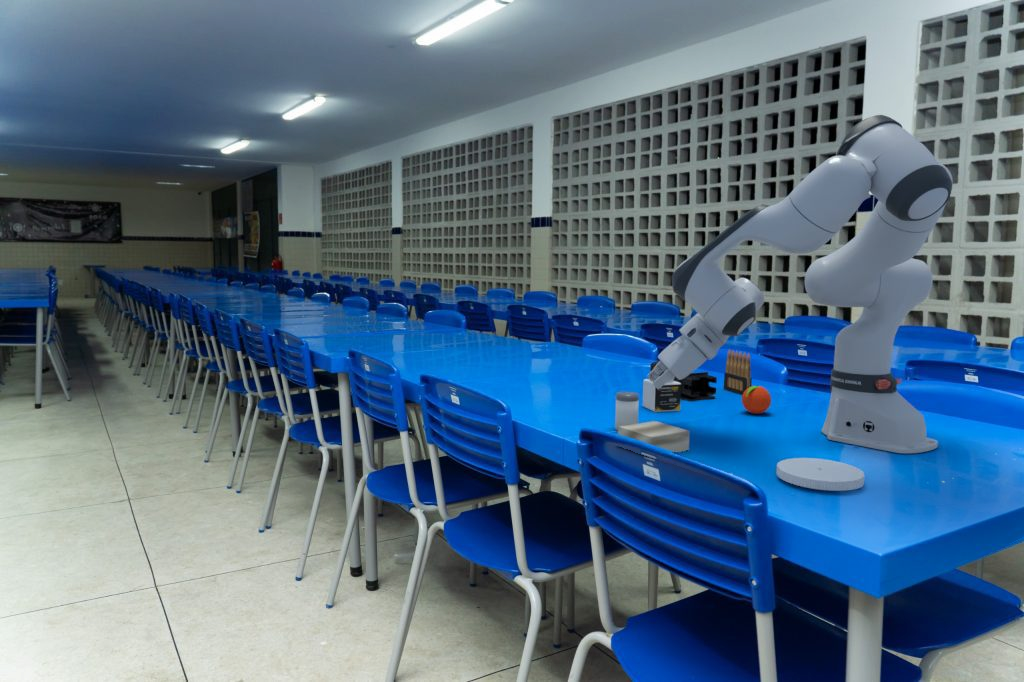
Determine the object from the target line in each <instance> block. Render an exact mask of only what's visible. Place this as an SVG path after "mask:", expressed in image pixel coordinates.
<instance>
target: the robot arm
mask: <svg viewBox="0 0 1024 682" xmlns="http://www.w3.org/2000/svg"><path fill="white" fill-rule="evenodd" d="M952 175H953V174H952V173H951V171H950V170H949V168H948V167H946V166H945V165H944V164H943V163H941V162H939V161H937V159H936V157H935V156H934V155H933V154H932V152H931V151H930V150H929V149H928V148H927V147H926V146H925V144H923V143H922V142H921V141H919V140H918V139H917V138H916V137H915V136H914V135H912V134H911V133H910V132H909V131H907V130H906V129H905V128H903V126H902V124H901V123H900V122H898V121H897V120H895V119H893V118H891V117H890V116H886V115H884V114H878V115H877V114H876V115H873V116H869V117H866V118H864V119H862V120H860V121H859V122H857V123H856V124H855V125H854V126H853V127H852V128H851V129H850V130H849V131H848V133H847V134H846V135H845V137H844V139H842V141H841V145H840V146H839V148H838V149H837V151H836V155H833V156H831V157H828V158H827V159H826V160H824V161H823V162H822V163H821V164H819V165H818V166H817V167H815V168H814V169H813V170H812V171H811V172H809V174H807V175H806V176H805V177H804V178H803V179H802V180H801V181H800V182H799V183H798V184H797V185H796V186H795V188H793V189H792V191H791V192H790V193H789V194H788V195H787V196H786V197H785V198H784V199H782V200H781V201H778V202H777V203H775V204H772V205H768V204H764V203H763V204H760V205H758V206H756V207H755V206H754V207H753V208H752V209H750V210H749V211H747V212H745V213H744V214H742V216H740V217H739V218H738V219H736V220H735V221H734V222H733V223H731V224H730V225H729V226H728V227H727V228H725V229H724V230H723V231H722V232H721V233H719V234H718V235H717V236H716V237H715V238H713V239H712V240H711V241H710V242H709V243H707V244H706V245H705V246H704V247H702V248H701V249H700V250H699V251H697V252H696V253H695V254H694V255H691V256H690V257H688V258H687V259H685V260H684V261H683V262H681V263H680V264H679V265H678V266H677V267H676V268H675V270H674V272H672V275H671V284H672V290H673V293H674V294H675V295H677V296H678V297H679V298H681V299H682V301H684V302H686V303H688V305H689V307H691V308H692V309H693V310H695V312H696V314H694V316H693V317H691V318H690V319H689V320H688V321H687V322H686V323H685V324H684V325H683V326H682V327H680V328H679V330H678V331H679V332H680V334H681V335H680V336H678V337H677V338H676V339H674V340H673V341H672V342H671V343H670V344H668V346H666V347H665V348H664V349H663V350H662V351H661V352H660V353H659V354H658V356H657V358H658V359H659V361H660V362H659V363H657V365H656V366H655V367H654V369H653V370H652V371H651V372H650V371H649V373H648V374H647V377H648V378H647V379H650V380H651V381H653V385H654V386H655V387H656V388H657V389H660V388H661V387H662V386H663V385H664V384H666V383H668V382H669V381H671V380H672V379H673V378H674V377H675V376H676V377H677V378H678V379H679V380H681V379H683V378H685V377H687V376H688V375H689V374H691V373H694V371H696V370H697V369H698V368H700V367H701V366H702V365H703V364H705V362H706V361H707V360H709V361H710V360H712V359H714V358H715V357H716V356H717V355H718V351H719V349H720V348H721V347H723V346H724V345H725V344H726V342H727V341H728V339H729V338H730V337H738V336H740V335H741V334H742V333H743V332H744V331H746V330H747V328H748V327H749V326H751V325H752V324H753V323H754V322H755V321H756V319H757V317H756V316H757V312H758V311H760V308H761V307H762V306H763V304H765V296H764V294H763V292H762V291H761V289H760V288H759V287H758V285H757V284H755V283H754V282H753V281H752V280H750V279H748V278H745V277H739V278H738V279H736V280H733V279H732V278H731V277H730V276H729V275H728V274H726V272H725V271H724V270H722V269H721V266H720V264H719V263H720V261H721V260H723V258H724V257H726V256H727V255H728V254H730V253H731V252H732V251H734V250H735V249H736V248H737V247H738V246H740V245H741V244H742V243H744V242H745V241H753V242H758V243H760V244H764V245H767V246H768V247H769V246H770V247H771V248H773V249H776V250H777V251H778V250H779V251H782V252H785V253H790V254H800V255H801V254H810V253H813V252H815V251H818V250H819V249H820V248H822V247H823V246H825V245H826V243H828V242H829V241H830V240H831V239H833V237H834V236H836V234H837V233H838V232H840V230H842V228H843V227H845V225H846V224H847V223H848V221H850V219H851V218H852V216H854V215H855V213H856V212H857V210H858V209H859V208H860V206H861V204H862V203H863V202H864V201H865V200H867V199H870V198H871V194H872V196H874V197H875V199H877V202H876V204H875V206H874V208H873V210H872V211H871V214H870V215H869V217H868V219H867V221H866V222H865V224H864V225H863V227H862V228H861V230H859V232H858V233H857V234H856V235H855V236H854V237H853V238H852V239H850V240H849V241H848V242H847V243H846V244H844V245H842V246H841V247H840V248H838V249H837V250H835V251H833V252H831V253H830V254H827V255H825V256H822V257H820V258H819V257H818V258H816V259H815V260H813V262H812V263H811V264H810V265H809V267H808V268H807V270H806V273H805V275H804V289H805V292H806V293H807V295H808V297H809V298H810V300H811V301H812V302H814V303H816V304H820V305H824V306H830V307H835V308H862V312H861V313H860V316H859V317H858V318H857V320H855V321H854V322H853V323H851V324H848V325H847V326H845V327H843V328H842V329H840V331H839V332H837V333H838V334H837V335H836V337H835V340H834V341H835V342H834V343H835V345H834V355H833V368H832V369H831V373H830V382H829V383H830V385H829V386H830V393H831V395H830V400H829V403H828V404H829V405H828V409H827V414H826V418H825V421H824V424H823V427H822V429H821V433H823V434H824V435H826V437H827V439H828V440H830V441H833V442H834V441H835V442H838V443H839V442H840V443H844V444H851V445H854V446H860V447H864V448H870V449H876V450H881V451H887V452H892V453H896V454H919V453H924V452H925V453H926V452H930V451H933V450H935V449H937V448H938V447H939V441H938V440H936V439H935V438H930V437H927V426H926V422H925V417H924V414H922V413H921V412H920V411H919V410H917V408H915V406H914V405H912V404H911V403H910V402H909V401H908V400H906V399H905V398H904V397H903V396H902V395H901V394H900V393H899V392H898V388H897V386H898V385H901V384H902V383H903V382H901V381H903V378H895V377H894V376H893V373H891V367H892V355H893V348H894V342H895V338H896V334H897V332H898V329H899V328H900V326H901V323H902V322H903V321H904V319H905V317H907V315H908V314H909V313H910V312H911V311H912V310H914V308H916V307H917V306H918V305H919V304H921V303H923V302H924V301H925V300H926V299H927V298H928V296H929V295H930V294H931V290H932V286H933V282H934V281H933V273H932V270H931V269H930V268H929V265H928V264H927V263H926V262H925V261H924V260H921V259H917V258H914V257H915V256H916V255H917V254H918V253H919V251H920V250H921V248H922V247H923V246H924V244H925V242H926V240H927V239H928V237H929V235H930V234H931V232H932V231H933V229H934V228H935V226H936V224H937V223H938V221H939V219H940V217H941V216H942V213H943V212H944V209H945V207H946V205H947V203H948V201H949V199H950V196H951V194H952V189H953V184H954V182H953V181H954V180H953V176H952ZM870 193H871V194H870ZM667 368H668V369H667ZM666 369H667V370H666ZM665 370H666V371H665ZM663 371H665V372H664V373H663V374H662V375H661V376H660V377H658V376H659V375H660V374H661V373H662V372H663Z"/></svg>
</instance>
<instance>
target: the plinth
mask: <svg viewBox="0 0 1024 682" xmlns="http://www.w3.org/2000/svg"><path fill="white" fill-rule="evenodd" d="M618 434H619V435H622V436H626V437H629V438H633V439H636V440H639V441H643V442H645V443H648V444H651V445H654V446H657V447H660V448H663V449H666V450H669V451H673V452H676V453H675V454H677V452H678V453H682V451H683V452H687V451H686V450H688V451H689V450H690V430H688V429H685V428H680V427H677V426H674V425H671V424H667V423H663V422H660V421H657V420H651V421H647V422H646V421H645V422H640V423H639V422H638V424H632V425H625V426H619V427H618V430H617V435H618Z"/></svg>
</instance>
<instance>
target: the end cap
mask: <svg viewBox="0 0 1024 682" xmlns="http://www.w3.org/2000/svg"><path fill="white" fill-rule="evenodd" d="M717 379H718V378H717V376H713V375H710V374H709V373H708V371H703V372H692V373H691V374H689V375H688V376H687V377H685V378H683V379H681V380H679V379H678V378H677V377H676V376H675V377H674V379H673V380H674V381H676V382H679V383H681V400H683V401H687V402H697V401H706V400H715V399H716V396H715V395H716V394H717V387H713V386H710V383H712V384H717V381H718V380H717Z"/></svg>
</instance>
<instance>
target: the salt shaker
mask: <svg viewBox="0 0 1024 682" xmlns="http://www.w3.org/2000/svg"><path fill="white" fill-rule="evenodd" d="M639 395H640V394H639V393H638V392H632V391H620V392H619V391H618V392H616V394H615V419H614V420H615V421H614V422H615V425H614V430H616V431H618V427H619V426H625V425H632V424H638V423H639V399H640V398H639V397H640V396H639Z"/></svg>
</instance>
